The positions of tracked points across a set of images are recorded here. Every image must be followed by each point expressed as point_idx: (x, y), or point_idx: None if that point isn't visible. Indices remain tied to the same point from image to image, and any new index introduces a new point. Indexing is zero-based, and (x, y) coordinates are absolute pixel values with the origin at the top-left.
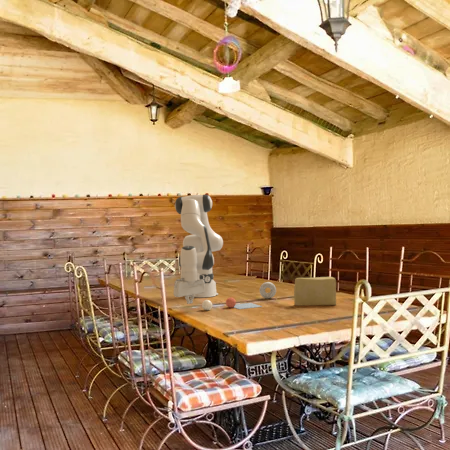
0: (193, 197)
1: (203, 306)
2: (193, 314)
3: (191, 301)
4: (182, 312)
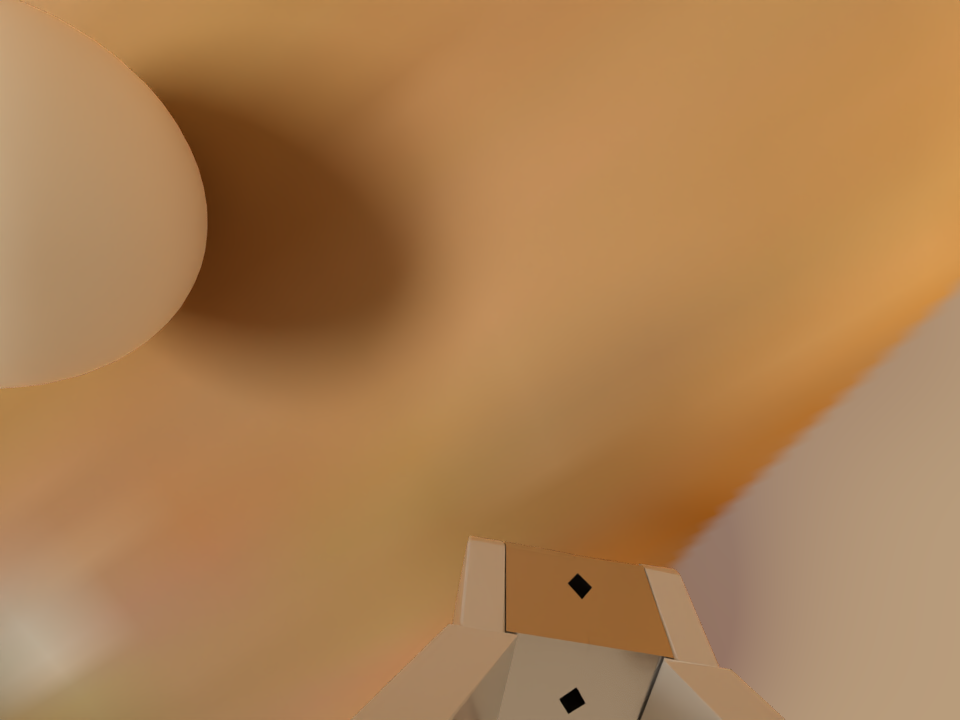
0: None
1: (197, 233)
2: (791, 188)
3: (551, 594)
4: None
